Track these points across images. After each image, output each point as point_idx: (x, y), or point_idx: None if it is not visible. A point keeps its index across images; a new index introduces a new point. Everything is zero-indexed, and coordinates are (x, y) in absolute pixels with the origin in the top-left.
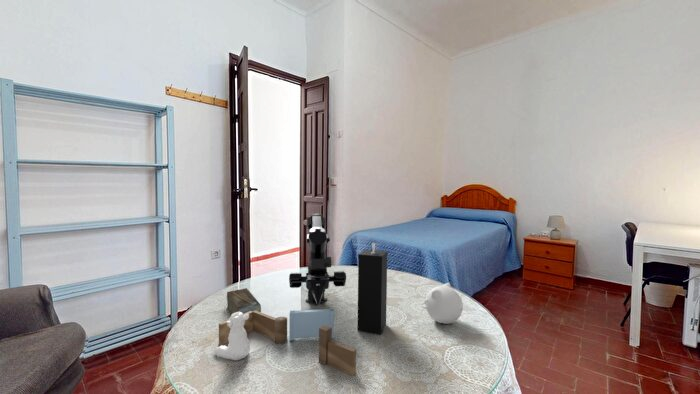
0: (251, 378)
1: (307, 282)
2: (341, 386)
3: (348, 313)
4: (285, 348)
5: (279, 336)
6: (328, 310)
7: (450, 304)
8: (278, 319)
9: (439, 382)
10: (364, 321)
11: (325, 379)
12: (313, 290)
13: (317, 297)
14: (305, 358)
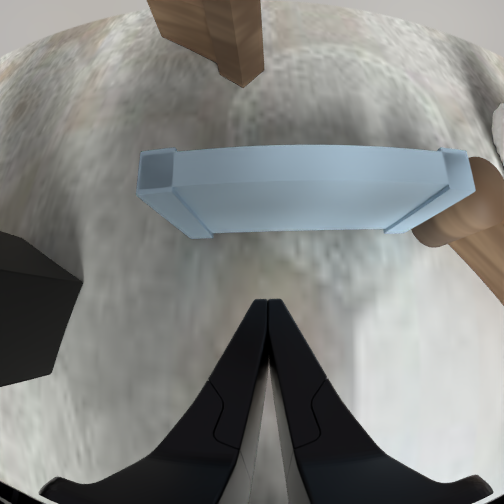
0: (432, 47)
1: (463, 481)
2: None
3: (114, 465)
4: None
5: None
6: (180, 163)
7: None
8: (495, 188)
9: (27, 53)
10: (32, 260)
11: None
12: (338, 402)
13: (275, 334)
14: (312, 90)
